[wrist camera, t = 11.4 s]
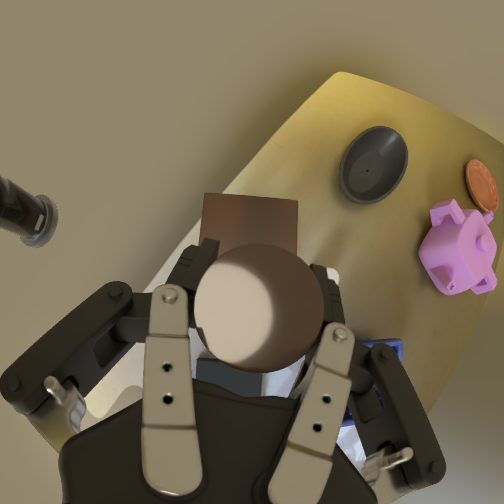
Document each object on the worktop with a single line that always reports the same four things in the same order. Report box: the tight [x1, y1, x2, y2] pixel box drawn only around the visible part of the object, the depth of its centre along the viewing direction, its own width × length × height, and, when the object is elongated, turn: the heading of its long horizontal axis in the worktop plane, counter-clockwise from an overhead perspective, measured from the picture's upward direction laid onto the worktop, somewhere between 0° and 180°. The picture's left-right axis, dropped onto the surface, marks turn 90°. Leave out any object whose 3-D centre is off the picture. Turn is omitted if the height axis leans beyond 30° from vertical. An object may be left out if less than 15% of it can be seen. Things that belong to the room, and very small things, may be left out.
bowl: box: [339, 126, 408, 204], centre depth 49 cm, size 12×22×6 cm, turn 138°
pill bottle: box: [326, 267, 339, 285], centre depth 44 cm, size 4×4×8 cm
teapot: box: [419, 199, 497, 295], centre depth 43 cm, size 19×18×15 cm
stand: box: [199, 193, 298, 258], centre depth 38 cm, size 10×10×20 cm
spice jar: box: [193, 243, 324, 374], centre depth 13 cm, size 4×4×8 cm
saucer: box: [466, 159, 499, 212], centre depth 54 cm, size 16×16×3 cm
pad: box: [196, 358, 262, 397], centre depth 43 cm, size 11×9×2 cm
